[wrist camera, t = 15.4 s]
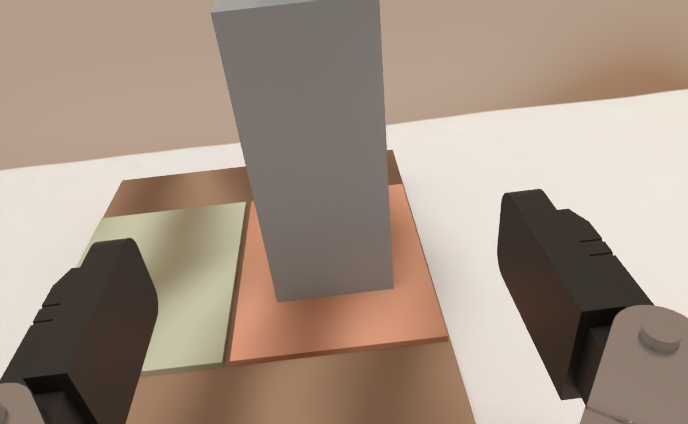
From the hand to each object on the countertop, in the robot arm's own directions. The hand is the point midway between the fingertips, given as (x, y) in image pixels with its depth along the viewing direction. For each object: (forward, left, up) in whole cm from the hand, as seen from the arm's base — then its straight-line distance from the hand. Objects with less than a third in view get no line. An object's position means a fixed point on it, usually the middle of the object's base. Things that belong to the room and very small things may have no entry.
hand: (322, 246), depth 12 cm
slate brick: (0, +10, -8) cm, 13 cm away
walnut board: (-4, +10, -11) cm, 15 cm away
